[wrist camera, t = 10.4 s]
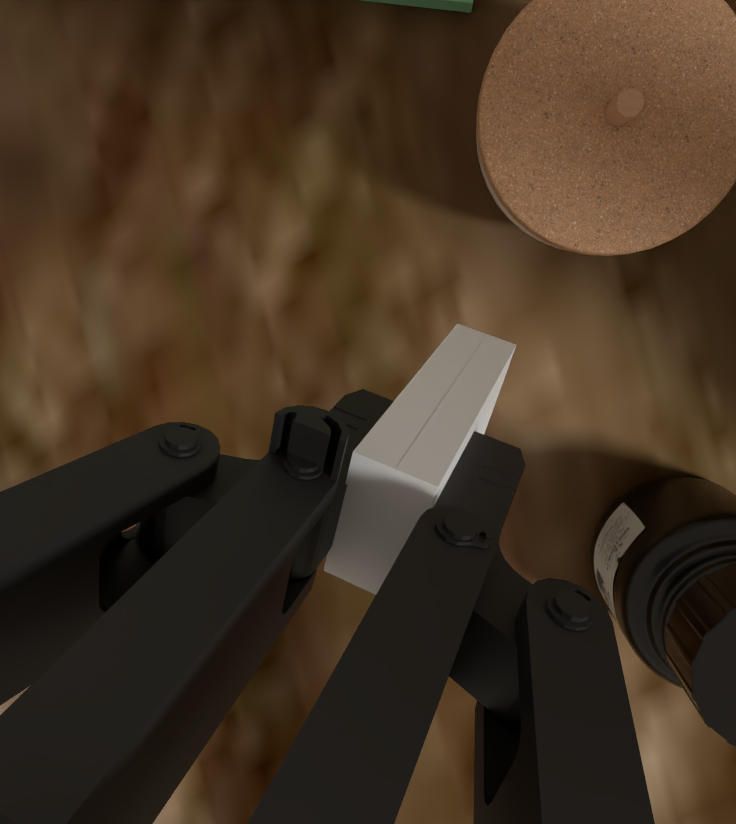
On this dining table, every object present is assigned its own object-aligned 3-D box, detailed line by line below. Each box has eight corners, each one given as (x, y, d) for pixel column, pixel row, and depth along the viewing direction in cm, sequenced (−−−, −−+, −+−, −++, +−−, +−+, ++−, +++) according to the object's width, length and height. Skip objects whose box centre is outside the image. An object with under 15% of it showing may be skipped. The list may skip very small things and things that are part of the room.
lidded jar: (486, 15, 34) (511, -81, 24) (710, 45, 33) (822, -42, 24) (448, 242, 36) (458, 232, 27) (658, 273, 35) (742, 274, 26)
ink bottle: (563, 500, 38) (627, 603, 26) (724, 442, 37) (866, 522, 25) (622, 654, 39) (708, 815, 28) (779, 602, 38) (938, 749, 26)
